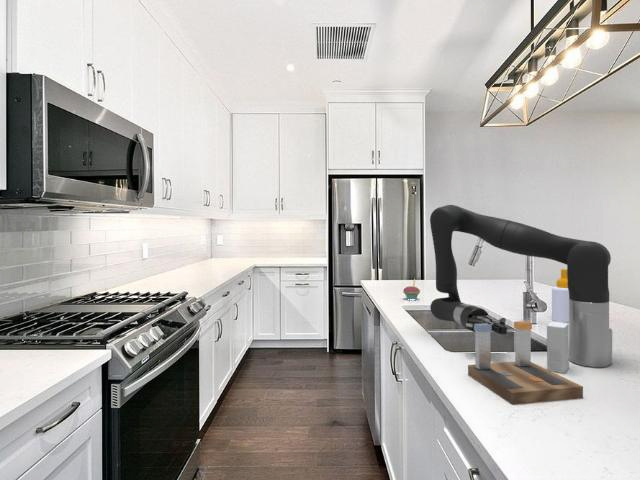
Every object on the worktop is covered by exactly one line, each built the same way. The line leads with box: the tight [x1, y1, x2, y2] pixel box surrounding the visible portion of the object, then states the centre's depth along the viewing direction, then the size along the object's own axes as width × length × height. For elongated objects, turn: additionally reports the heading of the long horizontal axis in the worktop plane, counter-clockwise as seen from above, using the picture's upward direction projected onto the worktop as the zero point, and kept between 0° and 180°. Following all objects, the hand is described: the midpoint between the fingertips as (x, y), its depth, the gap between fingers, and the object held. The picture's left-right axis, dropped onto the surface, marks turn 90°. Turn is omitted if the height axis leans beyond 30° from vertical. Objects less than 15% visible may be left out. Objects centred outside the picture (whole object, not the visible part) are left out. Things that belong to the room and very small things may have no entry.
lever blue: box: [474, 323, 493, 370], centre depth 101 cm, size 3×2×11 cm, turn 99°
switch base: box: [467, 361, 584, 405], centre depth 96 cm, size 17×18×3 cm
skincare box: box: [546, 320, 570, 374], centre depth 107 cm, size 6×4×12 cm
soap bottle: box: [551, 268, 569, 324], centre depth 162 cm, size 13×8×20 cm, turn 129°
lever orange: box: [513, 320, 533, 366], centre depth 102 cm, size 3×2×11 cm, turn 99°
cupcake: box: [402, 278, 421, 300], centre depth 213 cm, size 9×8×12 cm
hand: (504, 330), depth 110 cm, fingers closed
